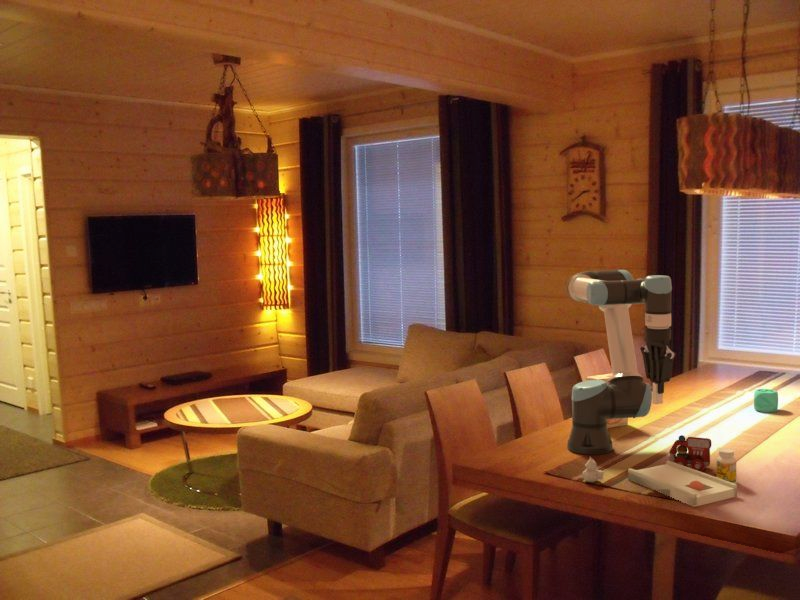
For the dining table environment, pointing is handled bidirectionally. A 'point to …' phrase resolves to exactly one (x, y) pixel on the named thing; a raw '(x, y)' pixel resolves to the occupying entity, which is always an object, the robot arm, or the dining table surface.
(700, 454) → the toy fire truck
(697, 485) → the ball
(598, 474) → the white figurine
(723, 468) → the supplement bottle
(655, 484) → the board
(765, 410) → the decorative dice
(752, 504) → the dining table surface
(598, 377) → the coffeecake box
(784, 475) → the dining table surface
